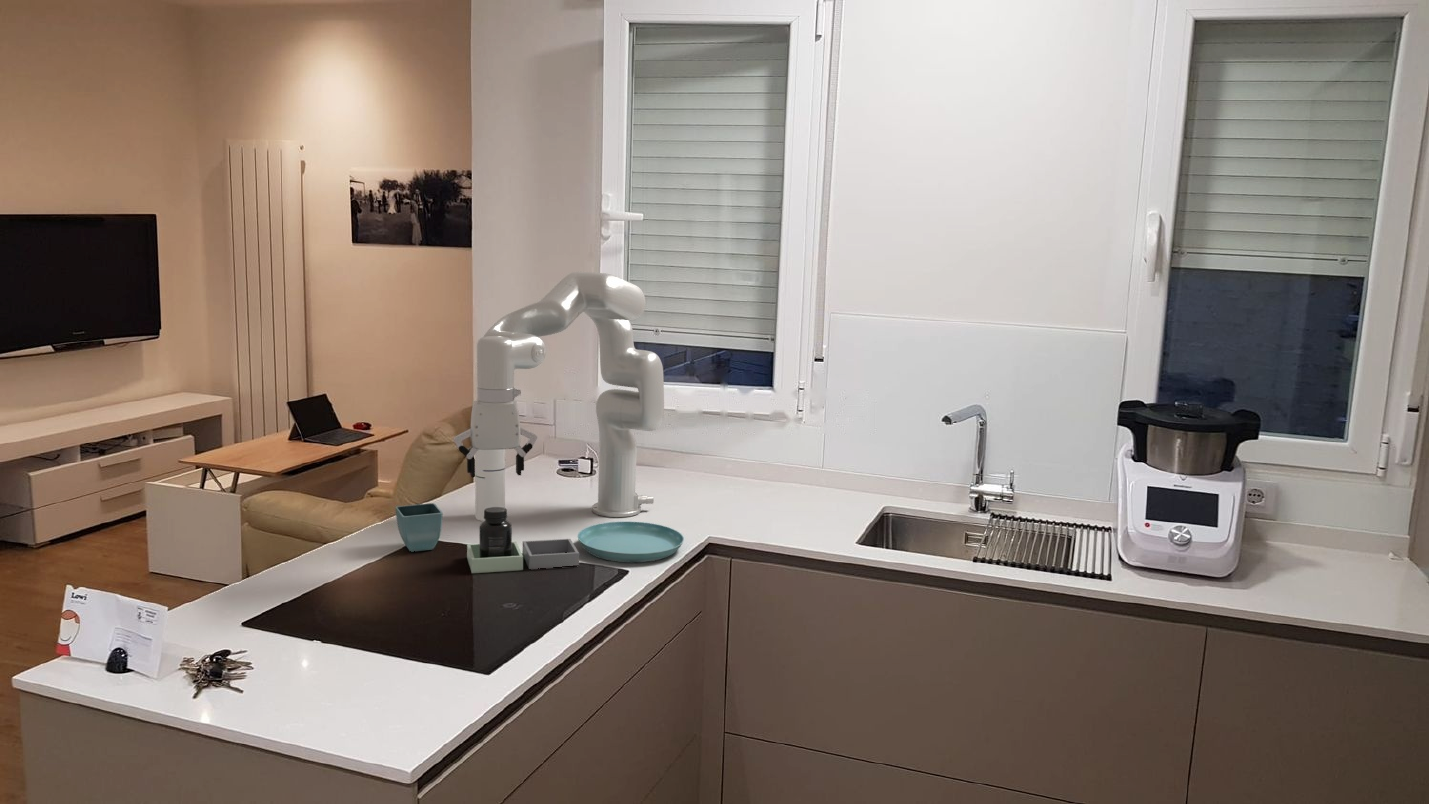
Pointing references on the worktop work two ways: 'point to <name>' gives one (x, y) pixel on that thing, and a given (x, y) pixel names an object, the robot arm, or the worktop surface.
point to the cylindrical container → (489, 480)
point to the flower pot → (419, 525)
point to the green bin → (494, 560)
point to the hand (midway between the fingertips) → (495, 474)
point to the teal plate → (630, 541)
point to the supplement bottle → (495, 534)
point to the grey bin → (550, 559)
